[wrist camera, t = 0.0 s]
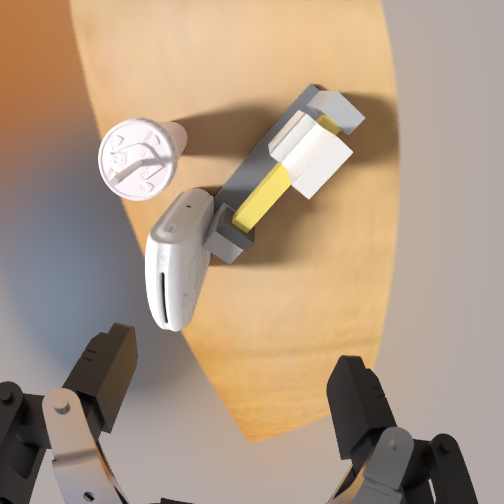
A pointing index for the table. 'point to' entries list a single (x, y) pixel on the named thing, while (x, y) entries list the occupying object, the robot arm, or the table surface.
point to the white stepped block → (308, 153)
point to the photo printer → (178, 258)
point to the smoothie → (141, 157)
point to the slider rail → (268, 174)
